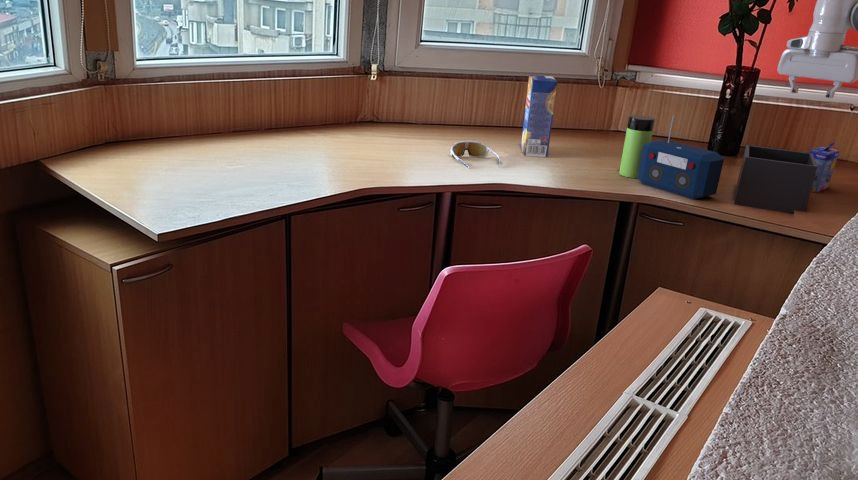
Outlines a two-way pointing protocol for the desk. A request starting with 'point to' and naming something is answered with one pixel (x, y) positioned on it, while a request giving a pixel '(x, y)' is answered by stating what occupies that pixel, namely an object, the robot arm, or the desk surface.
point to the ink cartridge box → (823, 166)
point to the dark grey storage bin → (775, 179)
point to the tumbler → (635, 143)
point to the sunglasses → (470, 150)
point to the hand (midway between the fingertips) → (811, 95)
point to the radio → (680, 168)
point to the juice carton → (538, 115)
